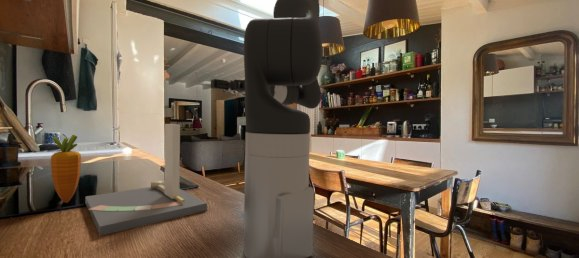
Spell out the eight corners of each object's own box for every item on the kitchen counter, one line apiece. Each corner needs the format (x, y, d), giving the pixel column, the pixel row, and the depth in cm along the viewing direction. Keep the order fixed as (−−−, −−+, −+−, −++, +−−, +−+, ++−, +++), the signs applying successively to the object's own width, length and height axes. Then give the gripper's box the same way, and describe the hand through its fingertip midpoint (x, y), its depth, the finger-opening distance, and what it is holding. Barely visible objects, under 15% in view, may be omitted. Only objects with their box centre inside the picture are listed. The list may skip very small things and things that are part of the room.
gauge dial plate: (206, 210, 52) (206, 202, 52) (96, 236, 40) (96, 226, 40) (171, 189, 68) (171, 183, 68) (82, 203, 55) (82, 196, 55)
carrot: (44, 206, 53) (43, 135, 52) (64, 199, 58) (64, 134, 57) (68, 206, 53) (68, 135, 52) (86, 199, 58) (86, 134, 57)
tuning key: (190, 201, 52) (191, 124, 52) (175, 204, 50) (176, 124, 50) (162, 184, 65) (162, 123, 65) (149, 186, 63) (149, 123, 63)
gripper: (254, 80, 78) (200, 71, 66) (283, 75, 68) (226, 64, 56) (254, 104, 78) (200, 100, 66) (282, 102, 68) (225, 97, 56)
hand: (212, 83), depth 61 cm, fingers closed
